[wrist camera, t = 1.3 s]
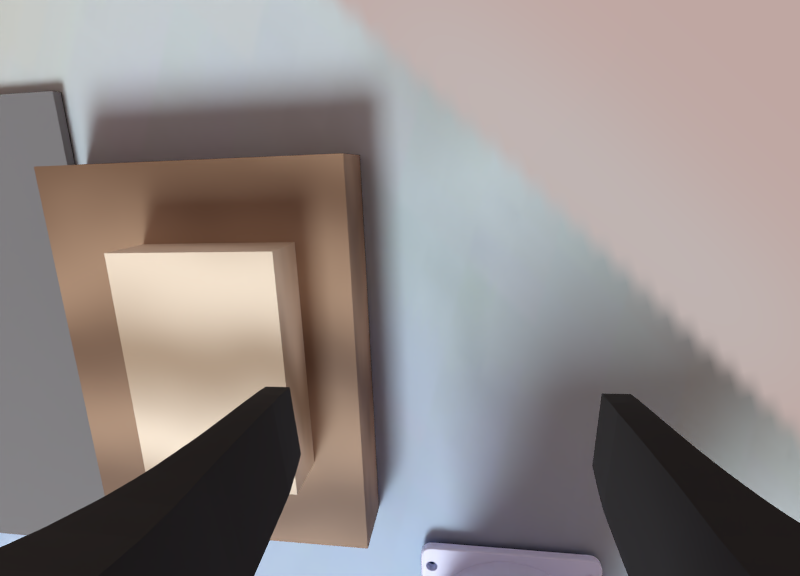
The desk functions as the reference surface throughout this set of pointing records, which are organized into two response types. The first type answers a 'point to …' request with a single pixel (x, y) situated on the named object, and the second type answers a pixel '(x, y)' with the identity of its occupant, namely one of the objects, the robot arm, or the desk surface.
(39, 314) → the mat
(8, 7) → the desk surface
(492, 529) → the desk surface
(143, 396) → the tile
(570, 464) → the desk surface
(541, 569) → the robot arm
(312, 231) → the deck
